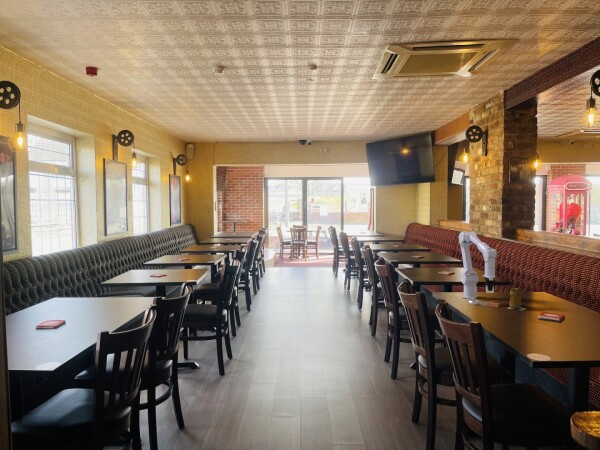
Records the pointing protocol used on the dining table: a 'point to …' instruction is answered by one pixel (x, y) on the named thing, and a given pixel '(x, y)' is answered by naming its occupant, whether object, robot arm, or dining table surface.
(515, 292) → the condiment
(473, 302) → the metal scoop
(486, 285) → the brushed metal cube
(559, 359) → the dining table surface
